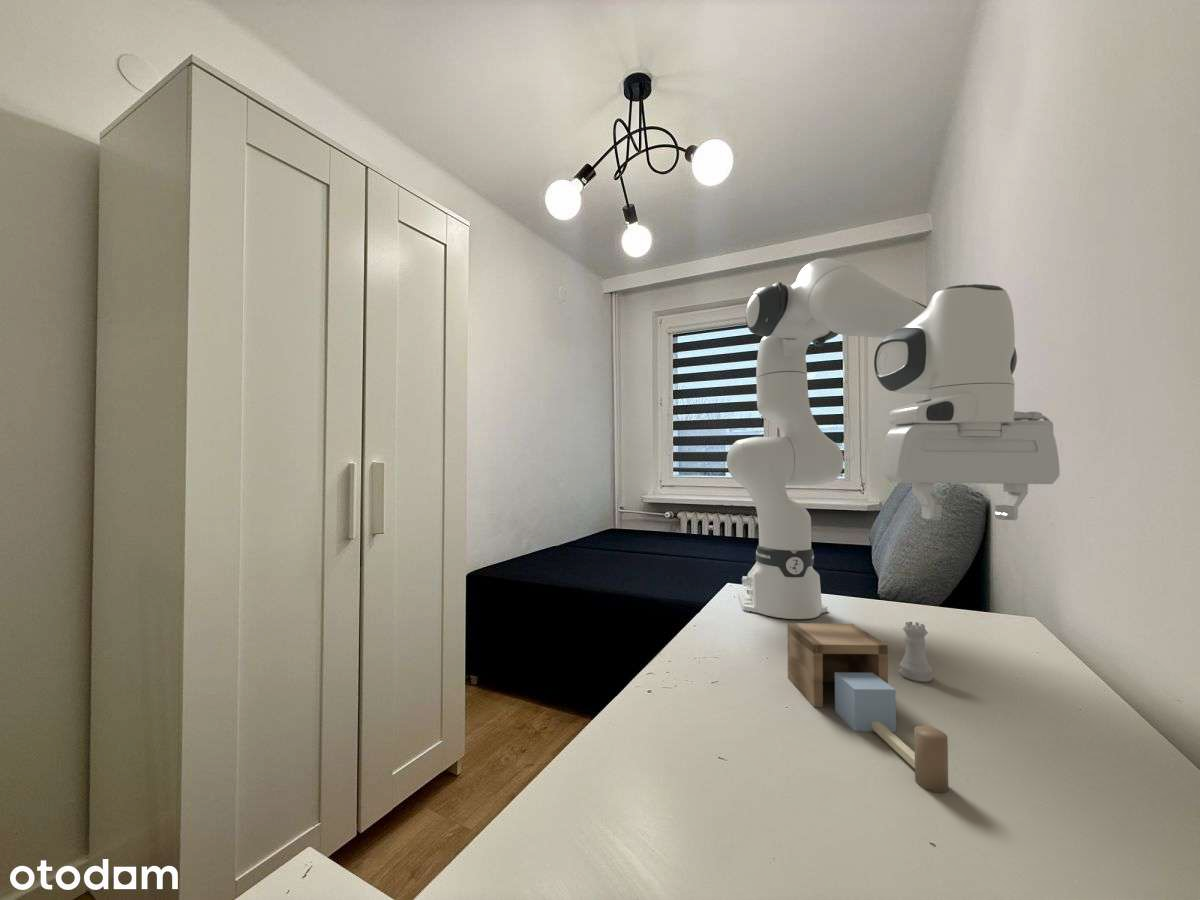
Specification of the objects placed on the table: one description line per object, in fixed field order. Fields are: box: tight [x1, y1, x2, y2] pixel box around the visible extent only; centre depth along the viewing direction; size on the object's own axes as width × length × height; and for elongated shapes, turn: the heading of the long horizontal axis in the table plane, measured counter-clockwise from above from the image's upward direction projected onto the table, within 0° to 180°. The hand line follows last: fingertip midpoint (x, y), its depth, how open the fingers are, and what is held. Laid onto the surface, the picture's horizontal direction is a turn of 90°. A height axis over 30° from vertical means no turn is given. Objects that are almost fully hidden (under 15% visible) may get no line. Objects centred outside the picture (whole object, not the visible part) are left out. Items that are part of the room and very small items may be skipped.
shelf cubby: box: [786, 622, 889, 708], centre depth 71 cm, size 9×10×8 cm
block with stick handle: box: [834, 672, 949, 794], centre depth 57 cm, size 16×5×5 cm, turn 0°
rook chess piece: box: [898, 621, 934, 683], centre depth 76 cm, size 4×4×8 cm
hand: (968, 519), depth 63 cm, fingers open, 8 cm apart
